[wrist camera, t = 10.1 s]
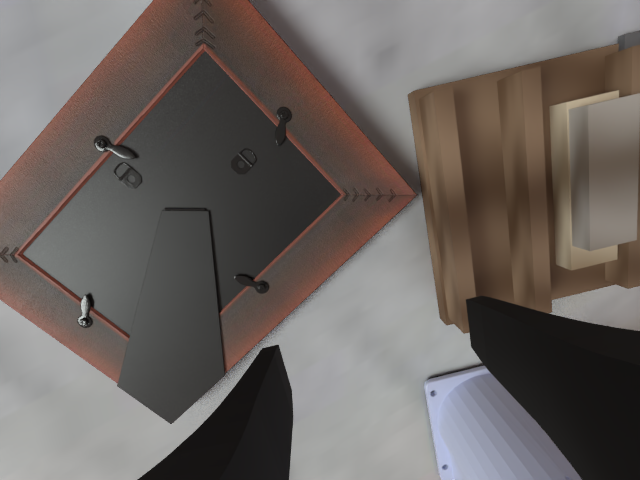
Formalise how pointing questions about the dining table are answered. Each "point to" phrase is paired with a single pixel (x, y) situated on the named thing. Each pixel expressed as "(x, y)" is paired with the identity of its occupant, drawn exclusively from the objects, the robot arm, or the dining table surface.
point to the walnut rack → (509, 181)
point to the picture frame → (187, 201)
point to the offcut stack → (594, 177)
